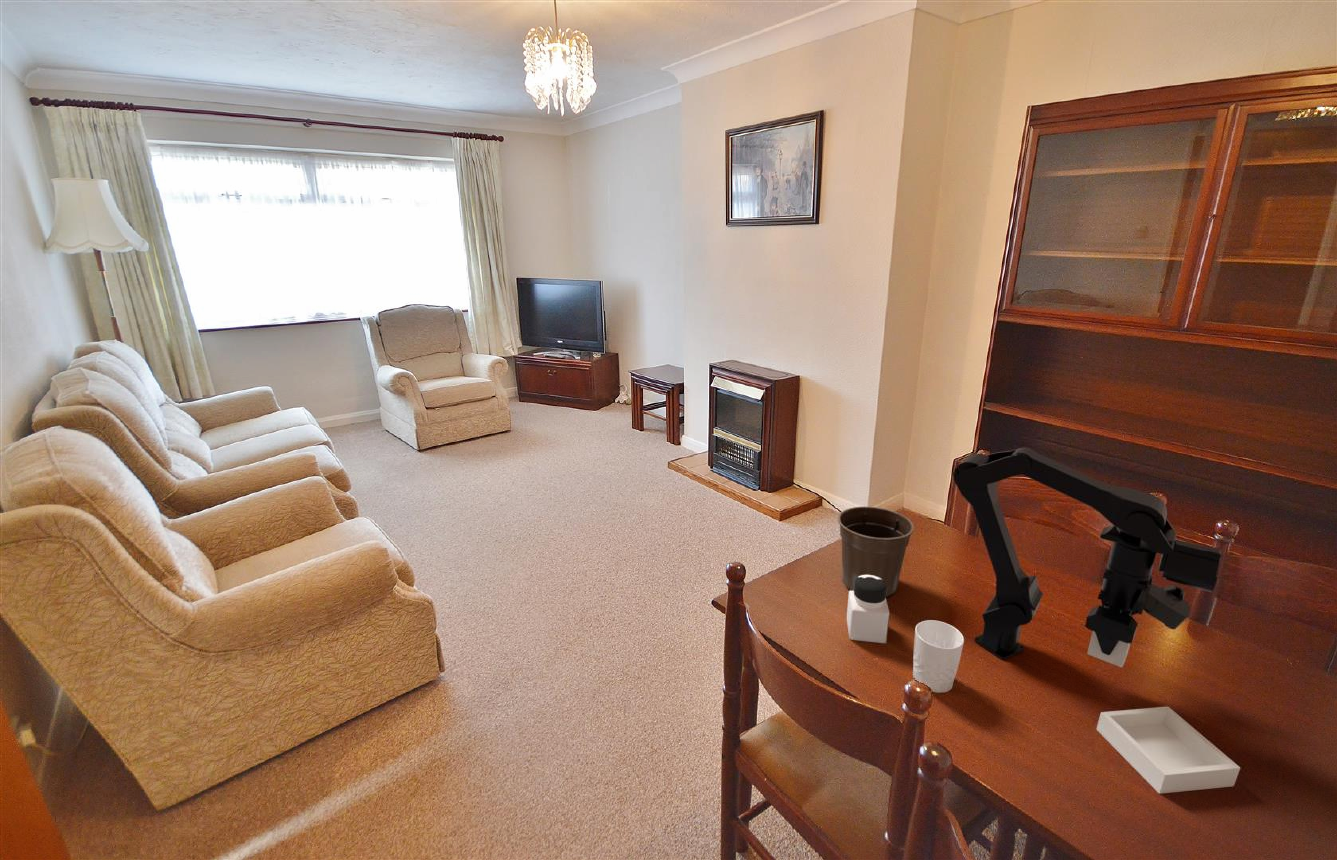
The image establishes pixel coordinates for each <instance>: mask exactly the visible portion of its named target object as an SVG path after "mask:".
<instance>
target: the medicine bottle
mask: <svg viewBox="0 0 1337 860" xmlns="http://www.w3.org/2000/svg"><path fill="white" fill-rule="evenodd" d="M886 588H887V585H886V583H885V582H884V581H883V580H882V579H881V578H879V577H877V576H873V575H861V576H859V577H857V578H856V579H855V585H854V591H851V590H849V591H848V596H847V597H848V598H847V599H848V600H847V609H846V624H847V630H848V638H849V640H851V641H858V642H859V641H861V642H869V643H870V642H871V643H877V644H887V641H888V634H889V624H890V615H891V614H890V611H889V606H888V602H887V596H886Z"/></svg>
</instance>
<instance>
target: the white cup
mask: <svg viewBox="0 0 1337 860" xmlns="http://www.w3.org/2000/svg"><path fill="white" fill-rule="evenodd" d="M964 643H965V637H964V636H963V634H962V632H961V631H960V630H959V629H957V628H956V627H955V626H953V625H951V624H948V623H947V622H944V621H940V620H933V619H932V620H931V619H927V620H924V621H923V620H922V621H921V622H920V621H919V622H918V623H917V624H916V625H915V630H914V642H913V657H912V658H913V662H912V663H913V665H912V666H913V669H912V677H913V679H914V678H915V679H914V681H915V680H917V681H919V682H921V683H924V684H925V685H927V686H928V687H930V688H931V689H932V691H933V692H932V691H931V692H932V693H938V694H941V693H947V692H949V691H950V690H951V689H953V685H954V680H955V678H956V676H957V672H958V668H959V664H960V661H961V657H962V653H963V652H962V651H963V648H964Z"/></svg>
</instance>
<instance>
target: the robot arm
mask: <svg viewBox="0 0 1337 860" xmlns="http://www.w3.org/2000/svg"><path fill="white" fill-rule="evenodd" d="M1020 475H1022V476H1024V477H1026V478H1028V479H1030V480H1033V481H1034V482H1037V483H1039V484H1041V485H1044V486H1046V487H1048V488H1050V489H1052V490H1054V491H1056V492H1058V493H1061V495H1062V494H1063V495H1065V496H1066V497H1069V498H1071V499H1073V500H1075V501H1077V502H1079V503H1082V504H1084V505H1086V506H1088V507H1090V508H1092V509H1094V510H1095V511H1096V512H1098V513H1099V514H1100V515H1101V516H1102V517H1103V518H1104V519H1105V520H1107V521H1108V522H1109V523H1110V524H1112V525H1108V526H1105V527H1103V528H1102V530H1101V532H1100V535H1099V538H1100V539H1102V540H1105V541H1109V542H1112V545H1111V548H1110V553H1109V554H1110V555H1109V557H1108V562H1107V565H1106V568H1105V570H1104V571H1103V576H1102V579H1103V582H1102V586H1101V588H1100V591H1099V593H1098V597H1097V600H1100V603H1101V605H1096V606H1093V607H1091V608H1090V610H1089V613H1088V614H1087V617H1086V620H1085V625H1084V627H1085V628H1086V629H1087V630H1090V631H1092V632H1093V631H1094V632H1095V634H1096V636H1097V639H1098V642H1099V645H1100V648H1101V651H1102V653H1104V654H1106V655H1110V654H1111V653H1112V651H1113V649H1114V648H1115V646H1116V645H1117V643H1118V642H1119V641H1122V642H1124V643H1130V644H1133V641H1134V638H1135V635H1136V632H1137V629H1138V625H1139V622H1138V621H1136V619H1135V618H1134V617H1133V616H1134V615H1137V614H1138V615H1141V616H1142V615H1143V613H1144V612H1145V613H1147V615H1149V616H1151V617H1152V618H1155V619H1156V620H1158V621H1159V622H1161V623H1162V624H1164V626H1165V627H1166V628H1168V629H1171V630H1176V629H1177V628H1179V626H1180V625H1182V624H1183V622H1184V621H1186V619H1188V618H1189V616H1190V612H1191V609H1192V608H1191V606H1190V605H1189V604H1190V601H1188V600H1185V593H1186V591H1185V589H1184V588H1183V587H1180V586H1179V585H1177V584H1180V585H1184V586H1188V587H1191V588H1195V589H1197V590H1202V591H1205V592H1209V593H1213V591H1214V589H1215V586H1216V583H1217V581H1218V569H1219V565H1220V560H1221V556H1222V550H1221V549H1220V548H1218V547H1213V546H1207V545H1200V544H1196V543H1191V542H1188V541H1183V540H1180V539H1177V531H1175V529H1174V528H1173V526H1172V524H1171V523H1170V521H1169V520H1168V518H1167V516H1168V509H1167V506H1166V503H1165V502H1164V501H1163V500H1162V499H1161V498H1160V497H1158V496H1157V495H1155V494H1152V493H1149V492H1145V491H1142V490H1138V489H1134V488H1132V487H1127V486H1118V485H1114V484H1113V485H1112V484H1109V483H1106V482H1103V481H1101V480H1099V479H1096V478H1094V477H1092V476H1090V475H1088V474H1086V473H1083V472H1081V471H1078V470H1077V469H1074V468H1072V467H1070V466H1068V465H1066V464H1063V463H1060V462H1059V461H1056V460H1053V458H1049V457H1047V456H1045V455H1042V454H1040V453H1039V452H1037V451H1035V449H1032V448H1030V447H1026V446H1025V447H1020V448H1017V449H1014V450H1006V451H1005V450H1004V451H998V452H993V453H989V454H984V453H972V454H969V455H968V456H967V457H966V458H965V459H963V460H962V461H961V462H960V463H959V464H958V465H956V467H955V468H954V470H953V473H952V478H953V482H954V484H955V485H956V487H957V489H958V491H959V492H960V494H961V495H960V496H962V497H963V498H964V500H965V501H966V502H968V504H969V505H970V506H971V508H972V510H973V512H974V515H975V518H976V522H977V525H978V527H979V529H980V532H981V537H982V539H983V542H984V545H985V548H986V551H987V555H988V556H989V559H990V562H991V563H990V564H991V566H992V568H993V572H994V574H995V595H994V596H993V597H992V599H991V601H990V602H989V604H987V607H986V609H985V610H984V612H983V614H982V619H983V622H984V625H983V629H982V630H983V631H982V634H980V635H977V636H975V637H974V638H973V641H974V642H975V643H977V644H978V645H980V646H981V647H983V648H984V649H986V650H987V651H989V652H990V653H992V654H993V655H995V656H996V657H998V659H1001V660H1007V659H1008V658H1010V657H1011V658H1012V657H1013V656H1015V655H1017V654H1020V653H1022V652H1024V651H1025V647H1024V645H1021V644H1020V643H1018V642H1019V638H1020V633H1021V628H1022V626H1025V625H1028V624H1029V623H1031V621H1032V620H1033V618H1034V616H1035V614H1036V612H1037V610H1038V608H1039V606H1040V603H1041V599H1042V597H1043V595H1044V593H1043V591H1042V590H1041V589H1040V587H1039V582H1038V578H1037V575H1030V576H1028V575H1027V573H1025V571H1023V569H1022V567H1021V564H1020V561H1019V557H1018V556H1017V552H1016V549H1015V547H1014V544H1013V543H1014V542H1013V541H1012V538H1011V535H1010V532H1009V529H1008V525H1007V523H1006V520H1005V516H1004V514H1003V511H1002V507H1001V505H1000V502H999V497H998V496H999V495H998V494H999V482H1001V481H1003V480H1006V479H1009V478H1012V477H1016V476H1020ZM1157 554H1161V557H1160V561H1159V565H1158V570H1157V572H1160V573H1162V576H1161V577H1162V578H1164V579H1165V581H1168V582H1169V581H1170V582H1172V583H1177V584H1173V585H1168V586H1165V587H1164V586H1163V585H1160V587H1159V586H1157V585H1155V584H1153V580H1154V576H1152V575H1153V574H1152V573H1153V569H1154V564H1155V562H1156V558H1157ZM1184 600H1185V601H1184Z"/></svg>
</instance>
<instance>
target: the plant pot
mask: <svg viewBox="0 0 1337 860" xmlns="http://www.w3.org/2000/svg"><path fill="white" fill-rule="evenodd" d="M837 521H838V524H839V532H840V533H839V535H840V538H841V579H842V581H843V583H844V587H846V588H847V589H848V590H849V591H854V585H855V579H856V578H857V577H859V576H861V575H873V576H877V577H879V578H881V579H882V580H883V581H884V582H885V583H886V585H887V588H886V597H889V596H891V595H893V594H895V592H896V591H897V589H898V584H899V580H900V575H901V571H902V567H903V563H904V558H905V555H906V550H907V547H908V546H909V543H910V539H911V535H912V534H913V533H914V531H915V525H914V523H913V522H912V520H911V519H909V518H908V517H907V516H905V515H903V514H901V513H900V512H897V511H895V510H892V509H888V508H882V507H877V506H876V507H875V506H855V507H850V508H846V509H845V510H843V511H841V512H840V513H839V514H838V517H837Z"/></svg>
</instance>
